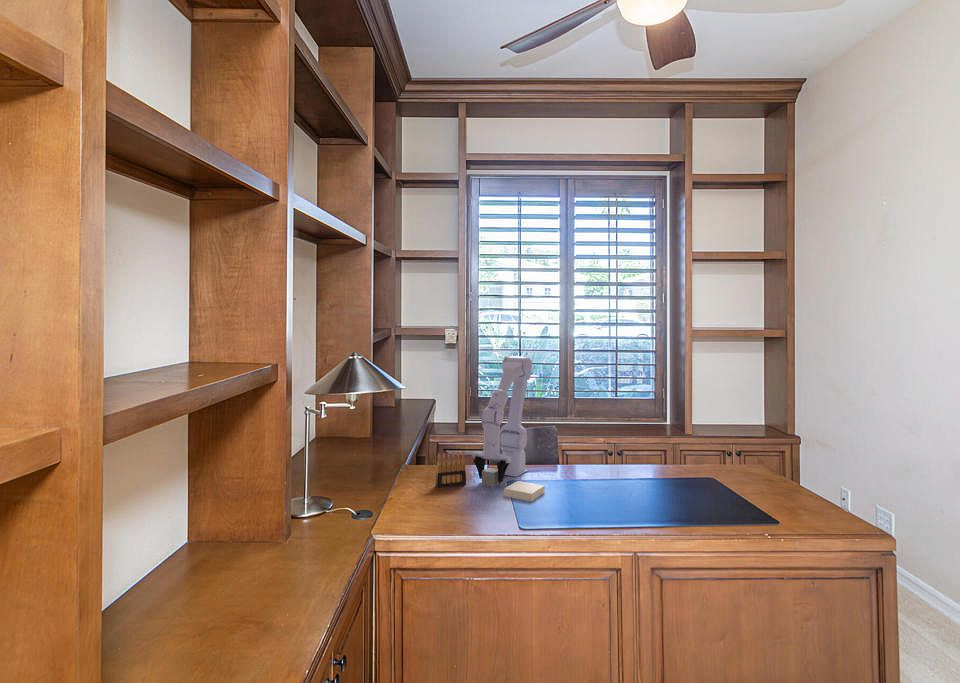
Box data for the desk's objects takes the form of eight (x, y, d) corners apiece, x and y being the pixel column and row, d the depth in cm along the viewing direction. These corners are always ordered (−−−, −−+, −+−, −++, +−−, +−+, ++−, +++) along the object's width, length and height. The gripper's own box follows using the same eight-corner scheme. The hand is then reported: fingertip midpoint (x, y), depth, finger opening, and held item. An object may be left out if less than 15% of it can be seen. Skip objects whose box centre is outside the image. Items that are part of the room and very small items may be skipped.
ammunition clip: (436, 487, 192) (437, 453, 192) (435, 486, 194) (435, 452, 193) (466, 484, 196) (466, 450, 196) (464, 483, 198) (464, 449, 197)
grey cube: (488, 481, 201) (488, 467, 200) (500, 483, 198) (500, 469, 198) (481, 484, 196) (481, 470, 196) (493, 487, 194) (493, 472, 194)
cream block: (517, 489, 193) (517, 480, 193) (544, 494, 188) (544, 485, 188) (504, 497, 184) (504, 488, 184) (531, 502, 179) (531, 493, 179)
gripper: (468, 441, 197) (467, 479, 197) (504, 446, 189) (503, 486, 190) (478, 437, 203) (477, 474, 203) (514, 442, 195) (513, 481, 196)
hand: (491, 480), depth 197 cm, fingers open, 7 cm apart
